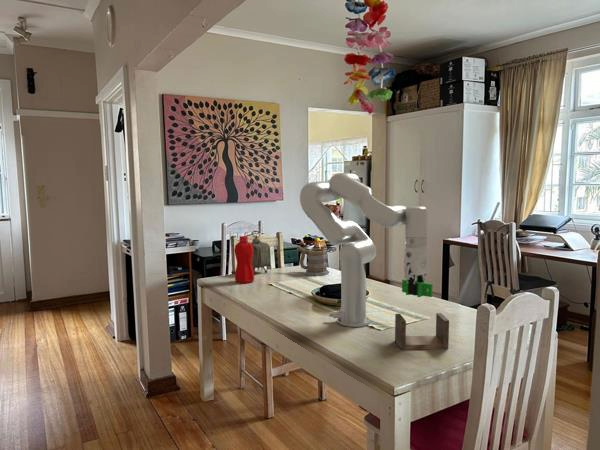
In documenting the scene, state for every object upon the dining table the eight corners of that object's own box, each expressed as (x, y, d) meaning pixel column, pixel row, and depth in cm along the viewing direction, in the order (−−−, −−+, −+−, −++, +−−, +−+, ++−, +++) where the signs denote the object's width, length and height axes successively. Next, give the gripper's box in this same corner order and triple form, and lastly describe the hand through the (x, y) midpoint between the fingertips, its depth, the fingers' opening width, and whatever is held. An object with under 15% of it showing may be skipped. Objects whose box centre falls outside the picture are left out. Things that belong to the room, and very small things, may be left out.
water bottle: (243, 285, 235) (242, 238, 232) (232, 281, 243) (231, 236, 240) (258, 282, 240) (257, 236, 238) (247, 279, 249) (246, 234, 246)
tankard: (331, 272, 263) (331, 247, 262) (321, 276, 253) (321, 250, 251) (303, 269, 274) (302, 244, 272) (291, 273, 263) (291, 247, 262)
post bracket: (400, 349, 146) (401, 321, 145) (394, 340, 154) (395, 313, 153) (448, 348, 147) (449, 320, 146) (440, 339, 155) (441, 313, 154)
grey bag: (270, 272, 264) (269, 231, 261) (259, 275, 257) (258, 232, 254) (253, 269, 273) (252, 229, 270) (242, 272, 266) (241, 230, 264)
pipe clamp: (398, 293, 160) (398, 281, 159) (403, 291, 163) (403, 279, 162) (427, 298, 152) (427, 285, 152) (432, 296, 155) (432, 283, 155)
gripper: (413, 245, 147) (413, 300, 149) (437, 240, 159) (437, 290, 160) (393, 243, 152) (394, 296, 154) (418, 238, 164) (419, 287, 166)
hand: (416, 292), depth 157 cm, fingers closed on pipe clamp, 3 cm apart
